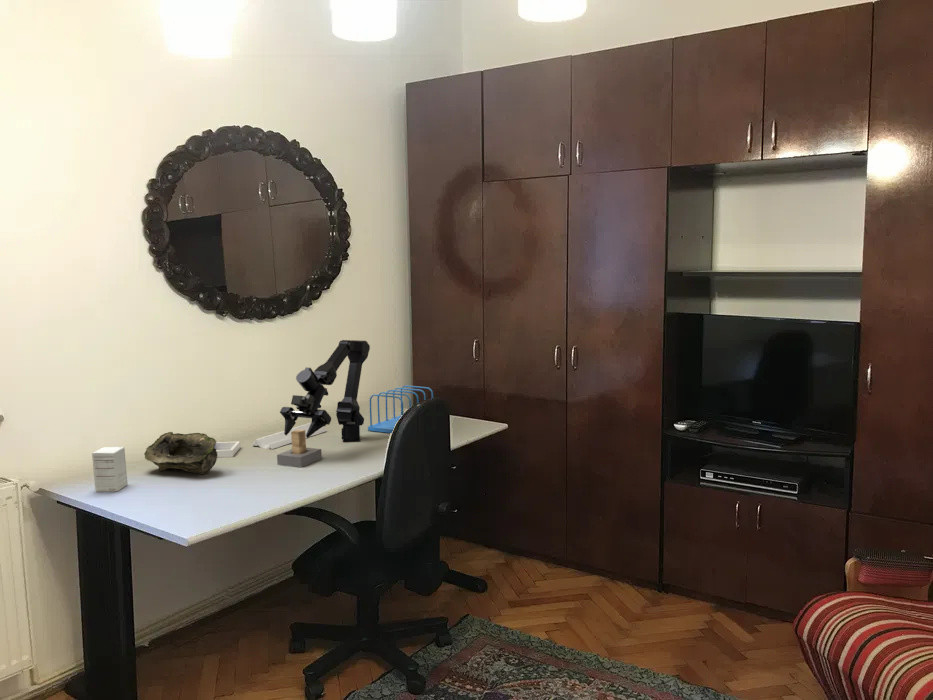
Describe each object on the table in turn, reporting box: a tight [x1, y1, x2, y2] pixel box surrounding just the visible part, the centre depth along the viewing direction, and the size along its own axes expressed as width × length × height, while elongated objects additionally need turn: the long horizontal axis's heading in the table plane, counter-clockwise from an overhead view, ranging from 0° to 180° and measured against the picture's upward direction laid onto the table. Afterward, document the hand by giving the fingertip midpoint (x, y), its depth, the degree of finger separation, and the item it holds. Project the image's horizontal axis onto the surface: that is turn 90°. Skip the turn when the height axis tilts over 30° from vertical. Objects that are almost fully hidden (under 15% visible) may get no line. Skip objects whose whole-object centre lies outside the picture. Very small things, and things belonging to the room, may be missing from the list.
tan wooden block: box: [291, 429, 307, 454], centre depth 278 cm, size 4×3×10 cm
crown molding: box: [250, 422, 328, 450], centre depth 314 cm, size 31×12×4 cm, turn 150°
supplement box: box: [91, 446, 129, 493], centre depth 252 cm, size 7×7×13 cm
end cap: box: [276, 447, 323, 468], centre depth 279 cm, size 12×10×4 cm
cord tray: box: [215, 441, 241, 458], centre depth 294 cm, size 13×13×2 cm
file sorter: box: [367, 385, 434, 434], centre depth 329 cm, size 25×17×15 cm
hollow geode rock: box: [144, 431, 218, 475], centre depth 271 cm, size 28×13×15 cm
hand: (296, 435), depth 277 cm, fingers open, 9 cm apart
